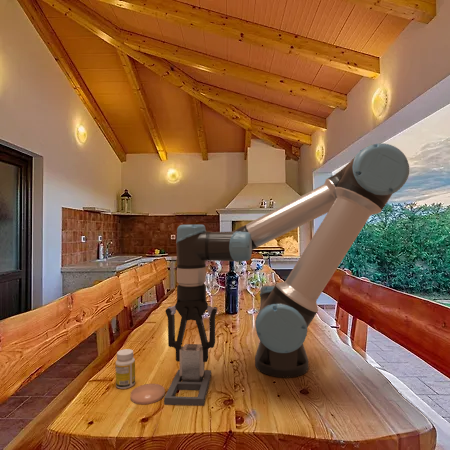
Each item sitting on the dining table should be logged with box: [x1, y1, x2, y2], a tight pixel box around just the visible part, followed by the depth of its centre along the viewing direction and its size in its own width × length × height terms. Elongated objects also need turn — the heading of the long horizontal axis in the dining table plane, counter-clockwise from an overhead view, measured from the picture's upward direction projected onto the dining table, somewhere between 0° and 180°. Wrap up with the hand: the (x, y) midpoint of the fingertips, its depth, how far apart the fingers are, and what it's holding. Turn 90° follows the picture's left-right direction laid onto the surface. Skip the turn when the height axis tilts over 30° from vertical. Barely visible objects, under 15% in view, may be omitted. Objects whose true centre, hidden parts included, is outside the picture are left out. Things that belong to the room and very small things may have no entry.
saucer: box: [130, 383, 166, 405], centre depth 76 cm, size 8×8×1 cm
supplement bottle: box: [115, 348, 136, 390], centre depth 81 cm, size 5×5×8 cm
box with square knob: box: [181, 343, 203, 382], centre depth 82 cm, size 4×4×9 cm
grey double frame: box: [163, 369, 212, 407], centre depth 79 cm, size 9×14×2 cm, turn 176°
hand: (192, 373), depth 82 cm, fingers closed on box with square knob, 4 cm apart
